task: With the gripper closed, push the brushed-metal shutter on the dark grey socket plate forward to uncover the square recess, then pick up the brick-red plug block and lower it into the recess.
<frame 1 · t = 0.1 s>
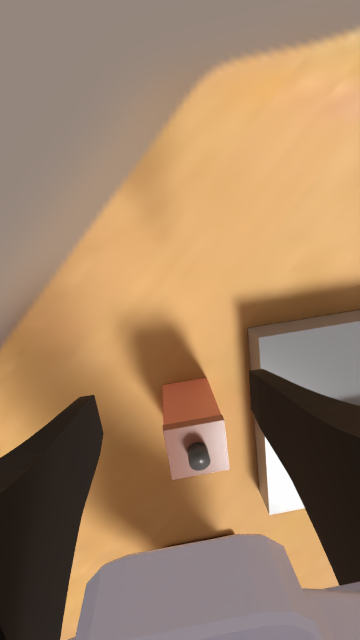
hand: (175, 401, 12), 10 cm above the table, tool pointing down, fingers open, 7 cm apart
plug: (187, 400, 23), on the table
socket plate: (315, 406, 25), on the table
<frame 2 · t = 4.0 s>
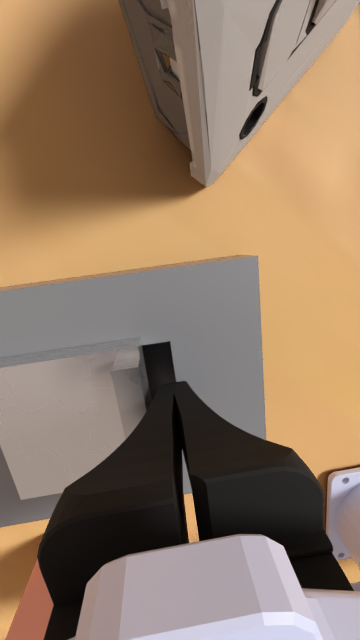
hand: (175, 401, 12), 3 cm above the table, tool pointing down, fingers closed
shutter: (76, 426, 11), point 4 cm above the table, slide at 1.7 cm, touching gripper
electrical switch: (226, 70, 11), on the table
plug: (85, 547, 18), on the table
socket plate: (90, 385, 15), on the table
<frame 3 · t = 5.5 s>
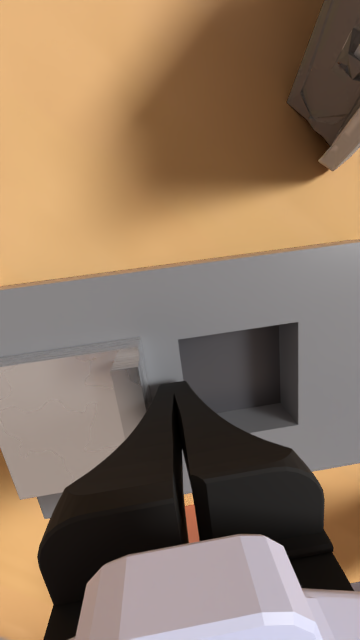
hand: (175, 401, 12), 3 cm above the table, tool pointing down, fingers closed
shutter: (75, 426, 11), point 4 cm above the table, slide at 7.6 cm, touching gripper
electrical switch: (355, 57, 12), on the table
plug: (170, 531, 18), on the table
socket plate: (194, 368, 15), on the table
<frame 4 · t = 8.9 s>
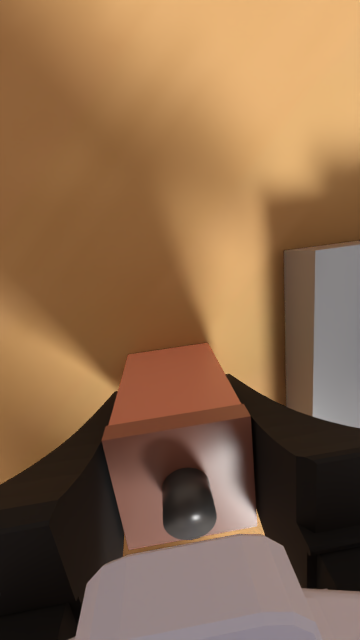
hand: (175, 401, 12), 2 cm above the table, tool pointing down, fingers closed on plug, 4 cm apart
plug: (173, 384, 13), on the table, touching gripper
when the fingers open (3 cm above the table, at t = 12.4 s): plug stays where it is, resting on socket plate.
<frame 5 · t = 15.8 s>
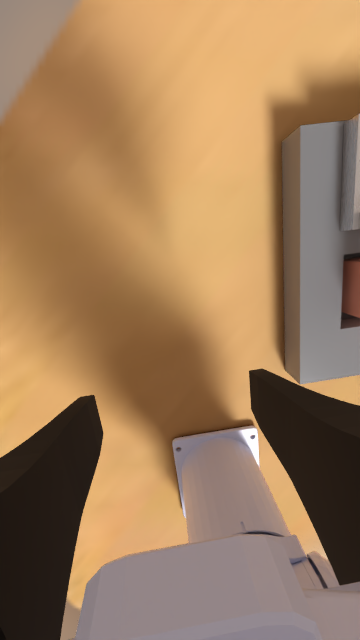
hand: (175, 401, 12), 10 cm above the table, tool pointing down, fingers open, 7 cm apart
plug: (358, 282, 21), resting on socket plate
socket plate: (354, 259, 21), on the table
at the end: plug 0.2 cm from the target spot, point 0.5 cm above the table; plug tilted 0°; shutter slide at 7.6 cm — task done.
